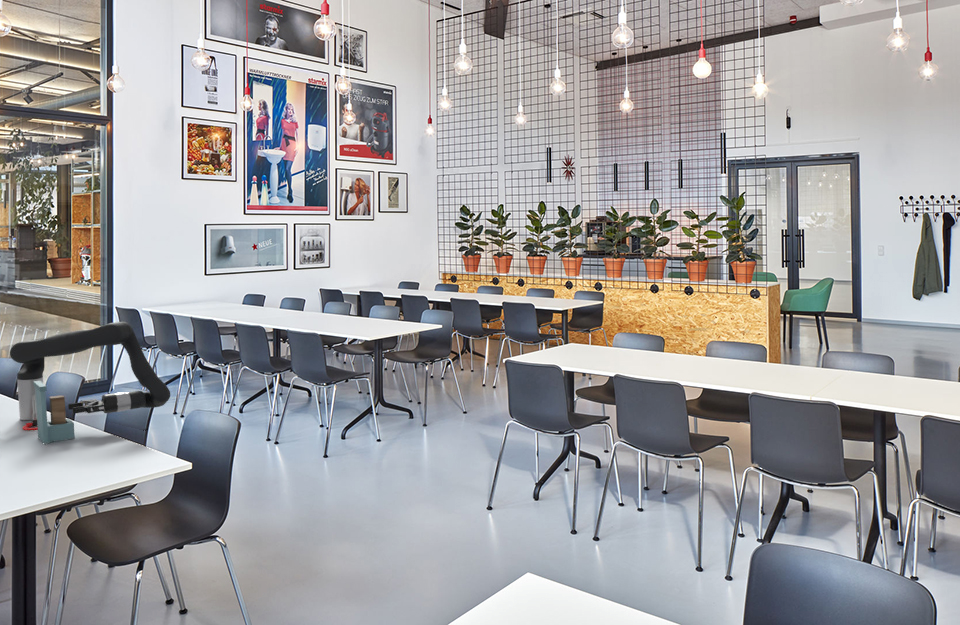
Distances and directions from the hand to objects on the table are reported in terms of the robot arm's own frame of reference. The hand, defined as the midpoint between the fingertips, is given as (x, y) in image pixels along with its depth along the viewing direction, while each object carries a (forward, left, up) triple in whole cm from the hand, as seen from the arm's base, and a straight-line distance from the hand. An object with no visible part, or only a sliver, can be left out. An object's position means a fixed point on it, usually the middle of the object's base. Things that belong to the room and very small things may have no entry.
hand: (70, 408), depth 277 cm
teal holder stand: (0, -4, -11) cm, 12 cm away
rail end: (0, -4, -11) cm, 12 cm away
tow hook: (-24, -9, -11) cm, 28 cm away
